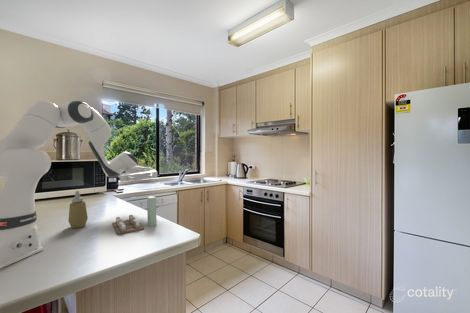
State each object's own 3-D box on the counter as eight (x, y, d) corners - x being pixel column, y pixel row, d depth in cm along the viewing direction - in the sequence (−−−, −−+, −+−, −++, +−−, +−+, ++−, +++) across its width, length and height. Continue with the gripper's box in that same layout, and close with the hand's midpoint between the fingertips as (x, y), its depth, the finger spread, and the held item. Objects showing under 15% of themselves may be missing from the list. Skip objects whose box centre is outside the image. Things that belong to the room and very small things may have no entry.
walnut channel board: (143, 229, 104) (143, 222, 104) (118, 235, 98) (117, 227, 98) (135, 220, 119) (135, 214, 119) (112, 224, 112) (112, 217, 112)
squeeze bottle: (64, 228, 109) (63, 192, 108) (80, 223, 116) (79, 189, 116) (75, 229, 106) (74, 192, 105) (91, 224, 113) (90, 189, 113)
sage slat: (156, 225, 111) (155, 197, 110) (150, 226, 109) (149, 198, 109) (153, 222, 115) (153, 195, 114) (147, 223, 113) (147, 196, 113)
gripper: (116, 170, 126) (120, 175, 115) (153, 166, 138) (160, 170, 127) (117, 181, 127) (121, 186, 116) (153, 176, 139) (160, 181, 128)
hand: (141, 178), depth 122 cm, fingers open, 8 cm apart
